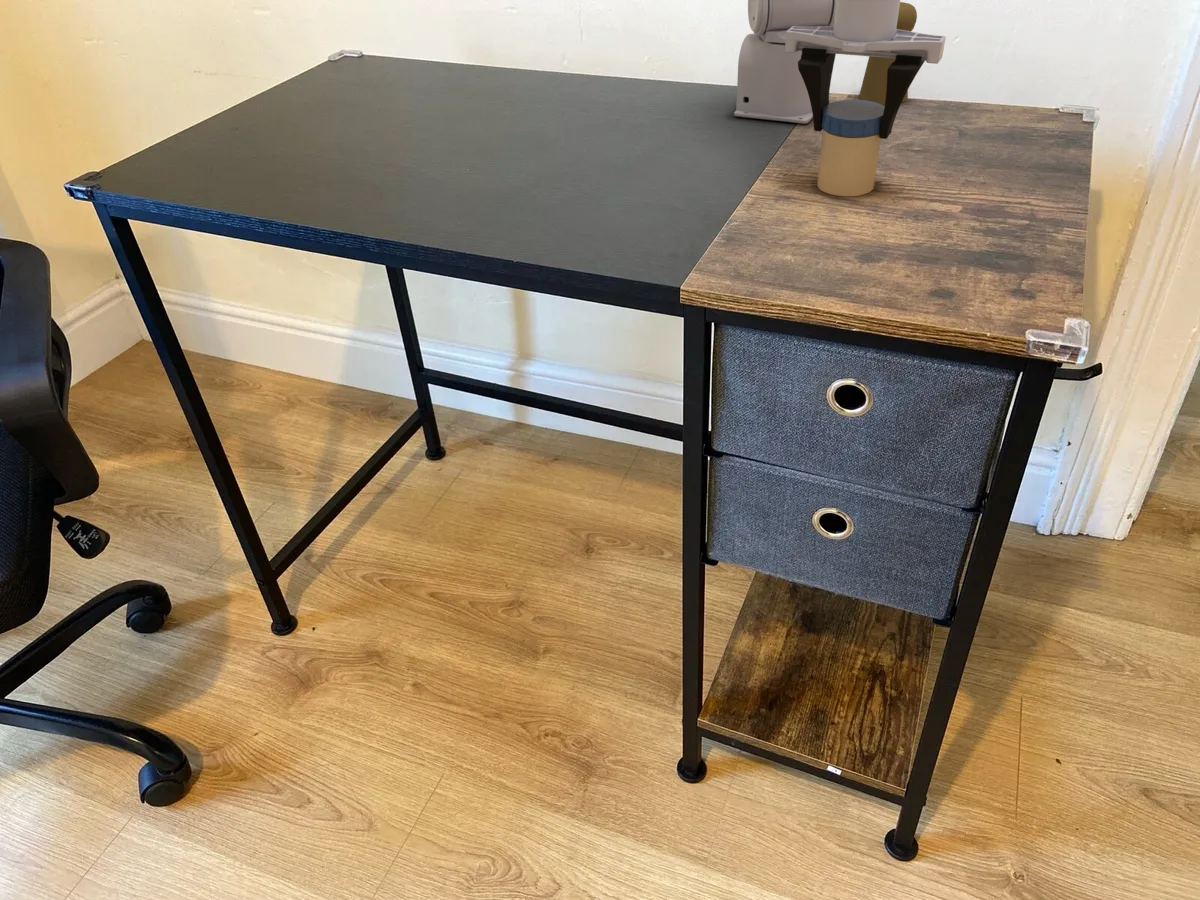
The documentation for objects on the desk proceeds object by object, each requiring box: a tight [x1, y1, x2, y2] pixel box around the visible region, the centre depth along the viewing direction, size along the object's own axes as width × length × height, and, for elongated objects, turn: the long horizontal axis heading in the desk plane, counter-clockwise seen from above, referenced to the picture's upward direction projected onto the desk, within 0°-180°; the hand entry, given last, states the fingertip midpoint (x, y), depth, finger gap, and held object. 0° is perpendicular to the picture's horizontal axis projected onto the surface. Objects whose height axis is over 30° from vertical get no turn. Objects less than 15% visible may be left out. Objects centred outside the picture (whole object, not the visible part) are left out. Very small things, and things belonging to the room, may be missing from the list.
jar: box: [816, 129, 882, 197], centre depth 89 cm, size 6×6×7 cm
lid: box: [822, 99, 885, 137], centre depth 87 cm, size 6×6×2 cm
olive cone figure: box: [858, 1, 918, 106], centre depth 109 cm, size 6×6×11 cm
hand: (851, 131), depth 88 cm, fingers closed on lid, 6 cm apart
